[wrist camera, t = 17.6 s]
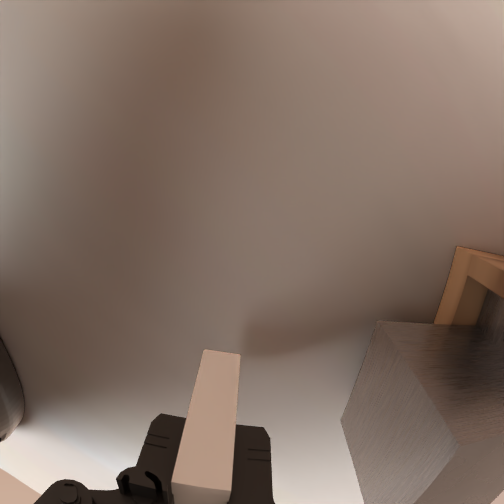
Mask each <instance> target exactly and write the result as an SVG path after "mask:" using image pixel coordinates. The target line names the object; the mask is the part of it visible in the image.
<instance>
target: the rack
mask: <svg viewBox="0 0 504 504" xmlns="http://www.w3.org/2000/svg"><path fill="white" fill-rule="evenodd" d="M488 289H490V290H491V291H493V292H494V293H496V294H497V295H499V296H500V297H502V298H503V299H504V256H502V255H497V254H492V253H488V252H483V251H478V250H473V249H468V248H463V247H458V246H457V247H456V251H455V255H454V259H453V262H452V266H451V270H450V273H449V277H448V280H447V283H446V287H445V290H444V293H443V296H442V299H441V302H440V305H439V308H438V311H437V314H436V317H435V320H434V323H433V324H448V325H476V322H477V320H478V317H479V314H480V311H481V309H482V306H483V303H484V300H485V297H486V294H487V291H488Z"/></svg>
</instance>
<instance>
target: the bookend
mask: <svg viewBox="0 0 504 504" xmlns="http://www.w3.org/2000/svg"><path fill="white" fill-rule="evenodd" d="M341 423H342V427H343V430H344V433H345V437H346V440H347V444H348V447H349V450H350V454H351V457H352V461H353V464H354V468H355V471H356V475H357V478H358V482H359V486H360V489H361V493H362V496H363V500H364V504H490V503H491V502H492V501H493V500H494V499H495V498H496V497H497V496H498V495H499V494H500V493H501V492H502V491H503V490H504V299H503V298H502V297H500V296H499V295H497V294H496V293H494V292H493V291H491V290H490V289H488V291H487V294H486V297H485V300H484V303H483V306H482V309H481V311H480V314H479V317H478V320H477V322H476V325H448V324H427V323H409V322H393V321H379V320H377V323H376V326H375V329H374V332H373V335H372V338H371V341H370V344H369V347H368V350H367V353H366V356H365V359H364V362H363V364H362V367H361V370H360V373H359V375H358V378H357V381H356V383H355V386H354V388H353V391H352V394H351V396H350V399H349V401H348V403H347V406H346V408H345V411H344V413H343V416H342V418H341Z"/></svg>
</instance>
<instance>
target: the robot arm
mask: <svg viewBox="0 0 504 504" xmlns="http://www.w3.org/2000/svg"><path fill="white" fill-rule="evenodd" d="M240 358H241V354H234V353H227V352H220V351H213V350H206V349H204V351H203V355H202V359H201V362H200V366H199V370H198V374H197V378H196V382H195V386H194V390H193V394H192V398H191V402H190V406H189V410H188V414H187V418H183V417H177V416H172V415H167V414H162V413H161V414H160V415H158V416H157V417H156V418H155V419H154V420H153V421H152V422H151V425H150V427H149V430H148V433H147V436H146V439H145V441H144V445H143V447H142V450H141V453H140V456H139V459H138V461H137V464H136V466H135V467H130V468H127V469H125V470H124V471H122V472H120V474H119V475H118V477H117V478H116V480H117V484H118V487H119V489H116V490H108V491H106V490H88V488H86V487H85V486H84V485H83V484H82V483H80V482H77V481H75V480H68V479H64V480H60V481H57V482H55V483H54V484H52V485H51V486H50V487H49V488H48V489H47V490H46V491H45V492H44V493H43V494H42V496H41V497H40V498H39V499H38V500H37V501H36V502H35V503H34V504H275V503H274V500H273V492H272V468H271V453H270V452H271V445H270V437H269V436H268V434H267V432H266V430H265V429H264V427H255V426H245V425H236V414H237V400H238V386H239V372H240ZM23 414H24V398H23V393H22V389H21V385H20V382H19V379H18V376H17V374H16V371H15V369H14V366H13V364H12V362H11V359H10V357H9V355H8V353H7V351H6V349H5V347H4V345H3V343H2V341H1V340H0V442H2V441H4V440H5V439H7V438H8V437H9V436H10V435H11V433H12V432H13V431H14V429H15V428H16V426H17V425H18V424H19V422H20V421H21V419H22V417H23Z"/></svg>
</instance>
